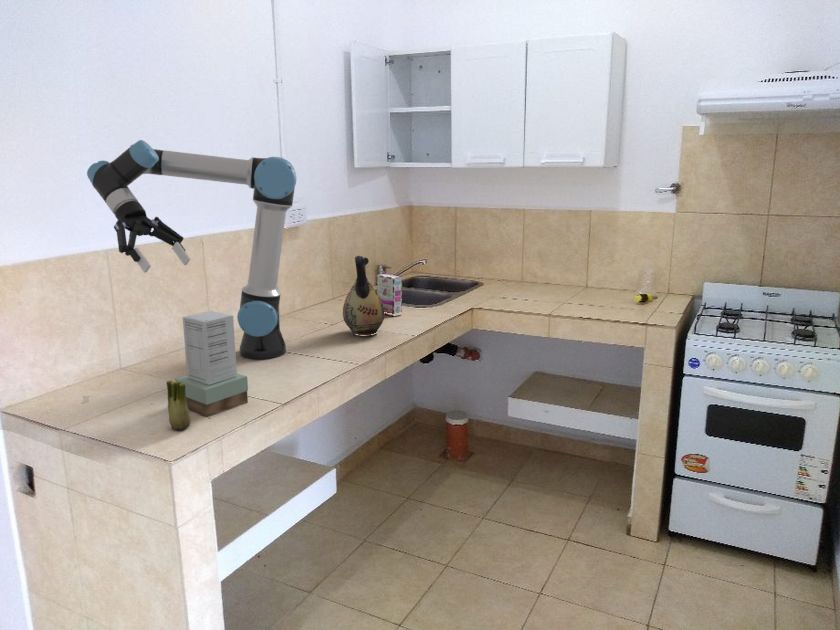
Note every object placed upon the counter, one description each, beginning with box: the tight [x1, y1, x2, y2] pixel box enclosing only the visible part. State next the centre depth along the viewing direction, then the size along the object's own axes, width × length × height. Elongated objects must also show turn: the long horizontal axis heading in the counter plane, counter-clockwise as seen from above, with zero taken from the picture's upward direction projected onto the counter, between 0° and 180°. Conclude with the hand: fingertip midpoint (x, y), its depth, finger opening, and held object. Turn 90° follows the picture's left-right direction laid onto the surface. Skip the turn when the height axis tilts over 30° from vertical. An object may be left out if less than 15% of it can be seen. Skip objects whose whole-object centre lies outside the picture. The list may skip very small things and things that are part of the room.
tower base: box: [186, 391, 249, 418], centre depth 173 cm, size 13×13×4 cm
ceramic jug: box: [342, 255, 385, 335], centre depth 238 cm, size 17×15×30 cm
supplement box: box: [182, 310, 238, 385], centre depth 169 cm, size 10×9×17 cm
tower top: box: [174, 372, 249, 405], centre depth 172 cm, size 13×13×4 cm
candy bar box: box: [376, 273, 403, 314], centre depth 271 cm, size 11×5×16 cm, turn 43°
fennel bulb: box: [166, 380, 192, 431], centre depth 156 cm, size 6×5×12 cm
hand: (168, 265), depth 180 cm, fingers open, 13 cm apart
